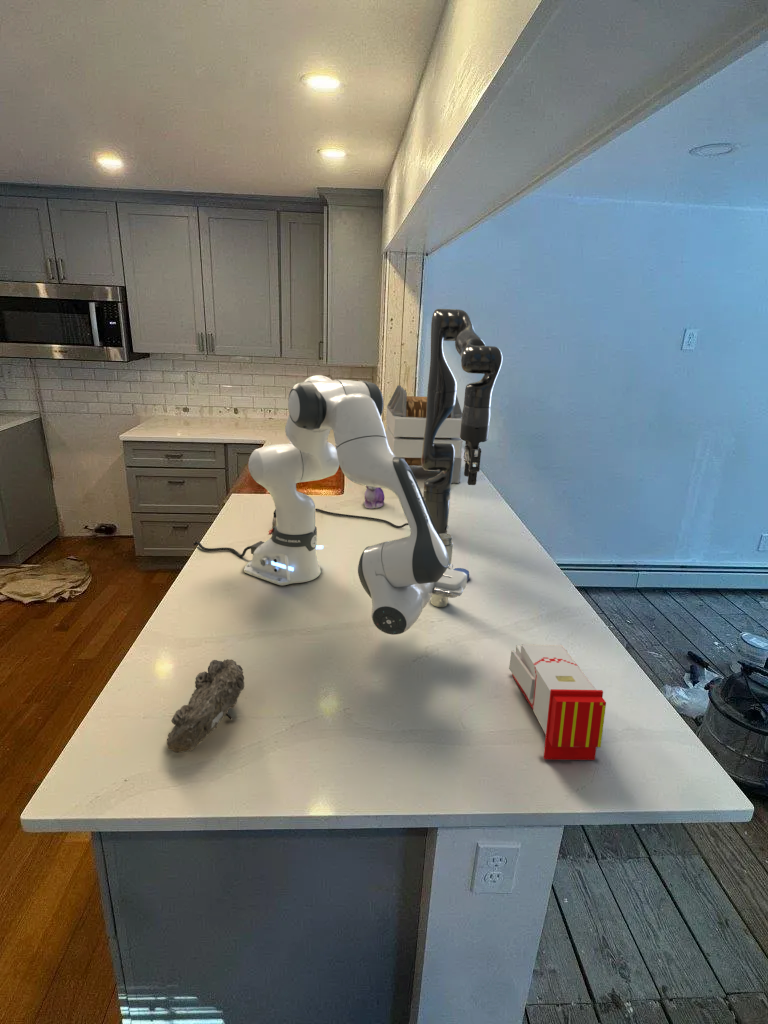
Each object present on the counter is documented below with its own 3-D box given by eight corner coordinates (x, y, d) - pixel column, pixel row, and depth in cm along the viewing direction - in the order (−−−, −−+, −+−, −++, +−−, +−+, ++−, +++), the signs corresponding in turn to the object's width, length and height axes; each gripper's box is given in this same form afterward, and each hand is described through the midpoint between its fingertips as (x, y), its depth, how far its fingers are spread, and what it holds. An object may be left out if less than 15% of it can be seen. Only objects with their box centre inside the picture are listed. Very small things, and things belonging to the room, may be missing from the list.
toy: (558, 627, 126) (616, 698, 97) (552, 682, 129) (607, 767, 99) (504, 626, 126) (545, 697, 96) (499, 681, 128) (538, 766, 99)
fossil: (192, 660, 117) (244, 628, 112) (224, 691, 120) (276, 661, 115) (142, 746, 98) (202, 712, 93) (182, 779, 101) (242, 748, 96)
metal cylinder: (440, 597, 157) (446, 531, 150) (450, 604, 153) (457, 537, 147) (427, 601, 155) (432, 534, 148) (437, 608, 151) (443, 540, 144)
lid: (451, 581, 166) (452, 575, 166) (450, 573, 171) (450, 567, 171) (469, 582, 166) (470, 576, 166) (467, 574, 171) (468, 568, 171)
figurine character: (291, 537, 195) (296, 518, 209) (290, 518, 192) (296, 499, 206) (271, 537, 195) (278, 517, 209) (270, 517, 192) (277, 498, 205)
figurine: (368, 510, 221) (370, 473, 216) (357, 502, 229) (358, 466, 224) (390, 507, 225) (391, 471, 220) (378, 500, 233) (379, 464, 228)
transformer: (382, 463, 289) (386, 382, 275) (445, 464, 293) (451, 384, 279) (390, 482, 257) (394, 392, 243) (460, 483, 261) (468, 394, 247)
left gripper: (461, 584, 120) (474, 559, 132) (371, 565, 127) (392, 543, 139) (458, 610, 122) (471, 583, 135) (370, 590, 129) (391, 566, 141)
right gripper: (458, 417, 160) (453, 472, 165) (464, 427, 146) (458, 487, 152) (485, 418, 160) (479, 473, 165) (493, 428, 146) (486, 488, 152)
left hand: (430, 562), depth 137 cm, fingers open, 8 cm apart
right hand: (469, 480), depth 158 cm, fingers open, 8 cm apart
